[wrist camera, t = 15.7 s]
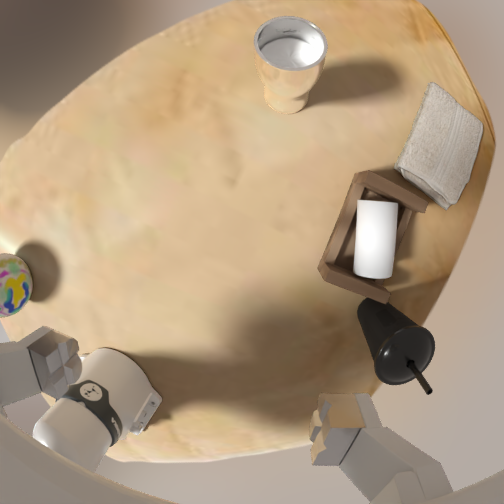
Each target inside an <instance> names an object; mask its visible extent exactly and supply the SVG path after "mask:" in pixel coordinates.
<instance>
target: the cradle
mask: <svg viewBox="0 0 504 504" xmlns="http://www.w3.org/2000/svg"><path fill="white" fill-rule="evenodd" d="M357 200H374V201H386V202H394V203H398V214H397V230H396V243H395V253H394V257H395V255H396V252H397V250H398V248H399V245H400V243H401V240H402V238H403V235H404V233H405V230H406V227H407V225H408V222H409V219H410V217H411V214H412V211H415V212H421V213H425V211H426V208H427V205H428V202H427V201H426V200H424V199H422V198H420V197H419V196H417V195H415V194H413V193H412V192H410V191H408V190H406V189H404V188H402V187H401V186H399V185H397V184H395V183H393V182H391V181H389V180H387V179H385V178H383V177H381V176H379V175H377V174H375V173H373V172H371V171H369V170H368V171H364V172H359V173H355V175H354V178H353V180H352V183H351V186H350V188H349V191H348V194H347V196H346V199H345V202H344V204H343V207H342V209H341V212H340V215H339V217H338V220H337V222H336V225H335V227H334V230H333V232H332V235H331V237H330V239H329V242H328V244H327V247H326V249H325V251H324V254H323V256H322V258H321V261H320V263H319V265H318V270H319V272H320V274H321V275H322V277H323V279H324V281H326V282H329V283H331V284H334V285H336V286H339V287H342V288H344V289H347V290H350V291H352V292H355V293H357V294H360V295H363V296H365V297H368V298H371V299H373V300H376V301H378V302H381V303H384V304H386V303H387V301H388V299H389V297H390V295H391V293H390V292H389V291H387V290H386V289H385V288H384V287H383V286H382V284H383V282H384V280H385V278H383V279H376V278H367V277H363V276H359V275H357V274H355V273H354V272H353V266H354V254H355V241H356V224H357Z"/></svg>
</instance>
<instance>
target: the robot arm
mask: <svg viewBox="0 0 504 504" xmlns="http://www.w3.org/2000/svg"><path fill="white" fill-rule="evenodd" d="M78 351H79V346H78V341H76V340H75V339H74V338H72V337H70V336H67V335H65V334H63V333H61V332H58V331H56V330H54V329H51V328H49V327H47V326H42V327H40V328H39V329H37V330H36V331H34V332H33V333H31V334H29V335H28V336H26V337H25V338H23V339H22V340H20V341H19V342H15V341H13V342H7V343H0V504H178V503H175V502H171V501H168V500H164V499H160V498H158V497H154V496H151V495H148V494H145V493H142V492H140V491H136V490H134V489H131V488H129V487H126V486H124V485H121V484H119V483H116V482H114V481H112V480H109V479H107V478H105V477H102V476H100V475H98V474H96V473H95V471H96V469H97V467H98V465H99V464H100V462H101V460H102V458H103V456H104V455H105V453H106V452H107V450H108V448H109V447H111V446H113V445H114V444H115V443H116V442H117V441H118V439H119V440H124V439H126V438H127V436H128V435H129V433H130V432H132V433H134V434H136V435H138V434H139V433H141V432H142V431H143V429H144V428H145V426H146V425H147V423H148V422H149V420H150V419H151V417H152V416H153V414H154V413H155V411H156V410H157V408H158V406H159V405H160V403H161V402H162V398H161V396H160V395H159V394H158V393H157V392H156V391H155V390H154V389H153V388H152V386H151V384H150V382H149V380H148V378H147V376H146V375H145V373H144V372H143V371H142V369H141V368H140V367H139V366H138V365H137V364H136V363H135V362H134V361H132V360H131V359H130V358H129V357H127V356H125V355H124V354H122V353H120V352H118V351H115V350H112V349H108V348H100V349H97V350H95V351H93V352H92V353H91V354H82V355H80V357H79V356H78V354H77V353H78ZM41 391H42V392H44V393H46V394H48V395H50V396H52V397H53V398H55V399H56V403H55V404H54V405H53V406H52V407H51V408H50V409H49V410H48V411H47V412H46V413H45V414H44V415H43V416H42V418H40V419H39V420H38V422H37V423H36V424H35V427H34V430H33V437H31V436H30V435H29V434H27V433H26V432H25V431H23V430H22V429H20V428H19V427H18V426H16V425H15V424H14V423H12V422H11V421H10V420H9V419H7V414H6V412H5V410H4V408H3V406H6V405H9V404H11V403H14V402H17V401H20V400H23V399H25V398H28V397H31V396H33V395H36V394H39V393H41ZM317 405H318V409H317V410H316V411H314V412H313V415H312V417H311V421H310V427H309V437H310V440H311V441H312V442H313V445H312V448H311V458H312V465H319V466H320V465H321V466H323V465H324V466H339V468H340V469H341V470H342V471H343V472H344V473H345V474H346V476H347V477H348V478H349V479H350V480H351V481H352V482H353V484H354V485H355V486H356V487H357V488H358V489H359V490H360V491H361V492H362V493H363V495H364V496H365V497H366V498H367V499H368V500H369V501H370V503H369V504H504V470H502V471H500V472H498V473H496V474H494V475H492V476H490V477H488V478H486V479H484V480H481V481H479V482H477V483H475V484H472V485H470V486H468V487H465V488H463V489H460V490H458V491H455V492H453V490H452V487H451V485H450V483H449V481H448V479H447V476H446V475H445V472H444V470H443V468H442V465H441V463H440V462H438V461H436V460H435V459H433V458H432V457H430V456H429V455H427V454H426V453H424V452H423V451H421V450H420V449H418V448H417V447H415V446H414V445H412V444H411V443H409V442H408V441H406V440H405V439H403V438H402V437H401V436H399V435H398V434H396V433H395V432H393V431H392V430H391V429H389V428H388V427H383V426H382V424H381V421H380V419H379V417H378V414H377V412H376V409H375V407H374V404H373V402H372V399H371V397H370V395H369V394H368V393H352V394H345V393H321V394H320V396H319V398H318V401H317Z"/></svg>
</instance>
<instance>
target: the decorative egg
mask: <svg viewBox="0 0 504 504" xmlns="http://www.w3.org/2000/svg"><path fill="white" fill-rule="evenodd" d="M32 289H33V281H32V276H31V273H30V270H29V268H28V266H27V264H26V263H25V262H24V261H23V260H22V259H21V258H19V257H17V256H15V255H13V254H7V253H3V254H0V318H1V317H8V316H11V315H13V314H15V313H17V312H19V311H20V310H21V309H22V308H23V307H24V306H25V305H26V304H27V302H28V300H29V298H30V296H31V293H32Z"/></svg>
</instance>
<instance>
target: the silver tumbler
mask: <svg viewBox="0 0 504 504" xmlns="http://www.w3.org/2000/svg"><path fill="white" fill-rule="evenodd" d="M327 49H328V44H327V40H326V37H325V35H324V33H323V32H322V31H321V30H320V28H318V27H317V26H316V25H315V24H313V23H312V22H310V21H308V20H306V19H303V18H299V17H294V16H282V17H277V18H273V19H271V20H269V21H267V22H265V23H264V24H262V25H261V26H260V27H259V29H258V30H257V32H256V34H255V37H254V59H255V66H256V70H257V73H258V75H259V77H260V79H261V81H262V83H263V84H264V86H265V88H264V99H265V101H266V103H267V105H268V106H269V107H270V108H271V109H273V110H274V111H276V112H278V113H282V114H292V113H296V112H298V111H300V110H301V109H302V108H303V107H304V106H305V105H306V103H307V101H308V91H309V90H310V89H311V88H312V87H313V86H314V85H315V84H316V82H317V81H318V79H319V77H320V75H321V73H322V71H323V67H324V64H325V58H326V53H327Z"/></svg>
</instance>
